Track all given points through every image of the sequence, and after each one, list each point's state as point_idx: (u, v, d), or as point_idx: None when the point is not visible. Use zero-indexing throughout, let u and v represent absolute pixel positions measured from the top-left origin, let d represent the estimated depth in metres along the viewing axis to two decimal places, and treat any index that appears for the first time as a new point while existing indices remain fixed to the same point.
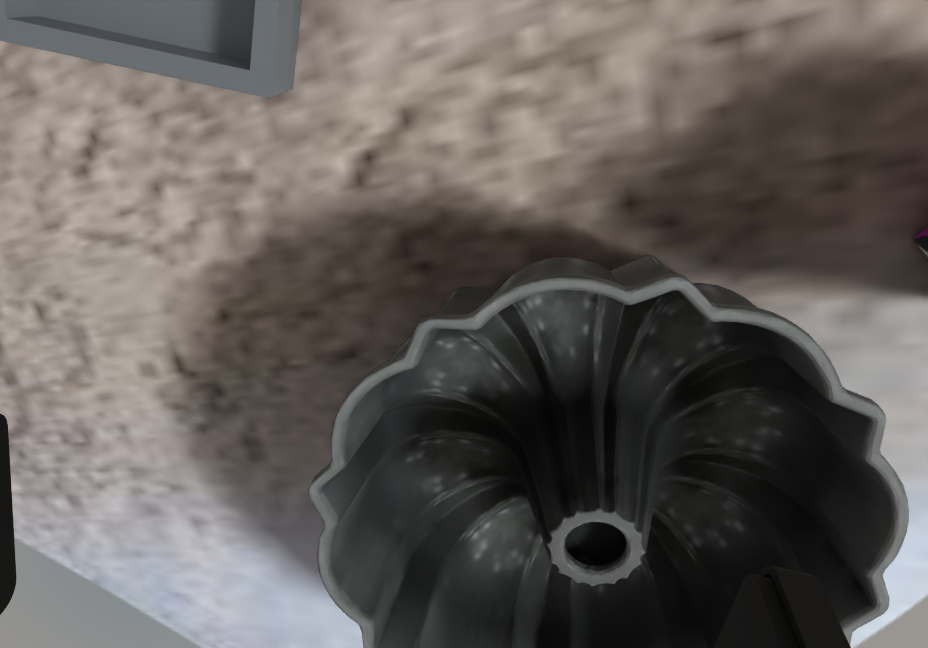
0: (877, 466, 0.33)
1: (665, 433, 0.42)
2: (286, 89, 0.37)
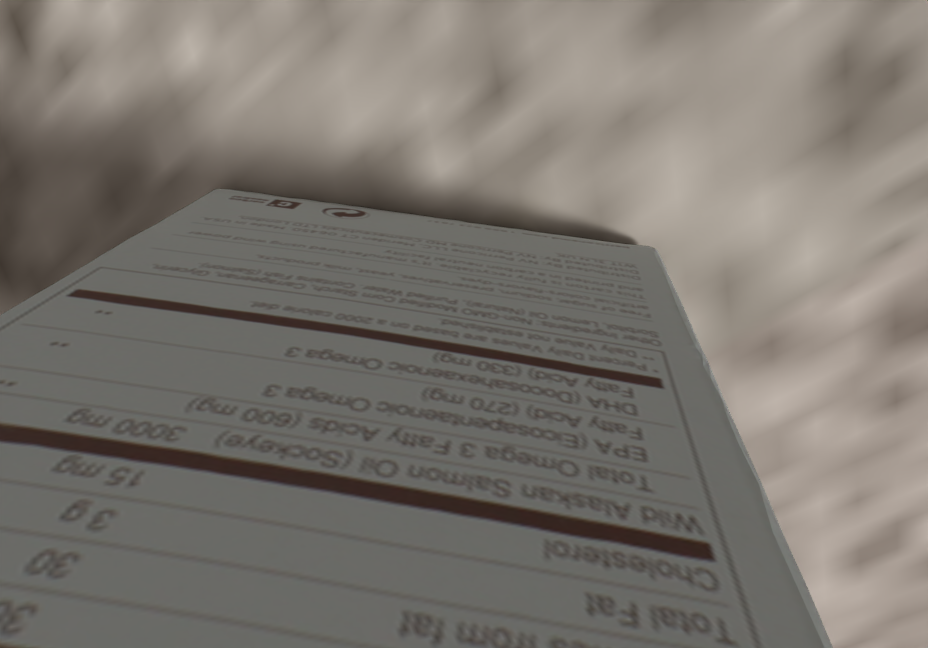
0: None
1: None
2: None
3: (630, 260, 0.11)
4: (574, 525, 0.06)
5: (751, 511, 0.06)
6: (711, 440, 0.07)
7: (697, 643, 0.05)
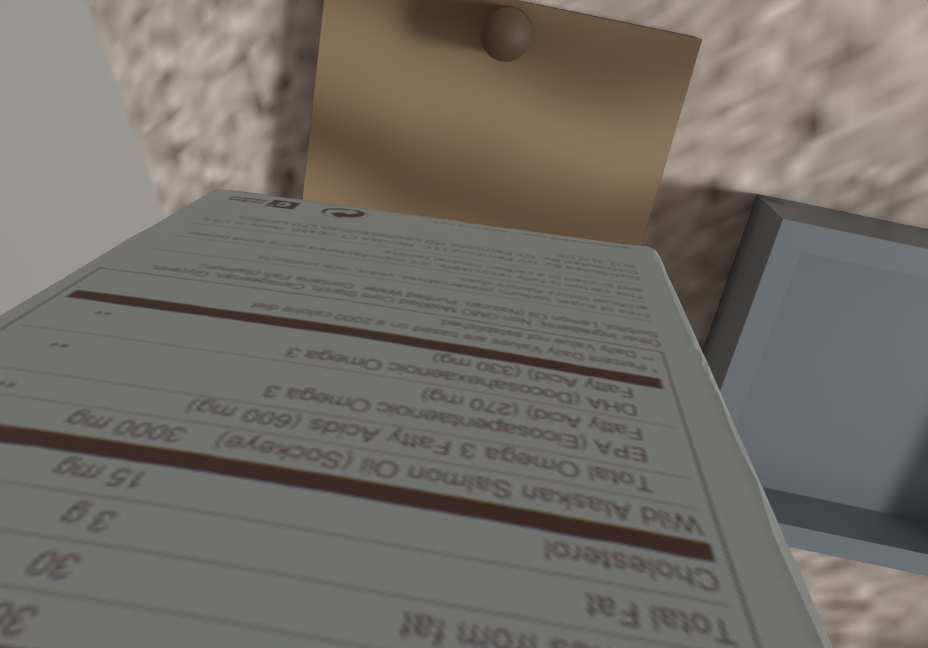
0: None
1: None
2: None
3: (630, 260, 0.11)
4: (573, 525, 0.06)
5: (750, 511, 0.06)
6: (710, 440, 0.07)
7: (696, 643, 0.05)
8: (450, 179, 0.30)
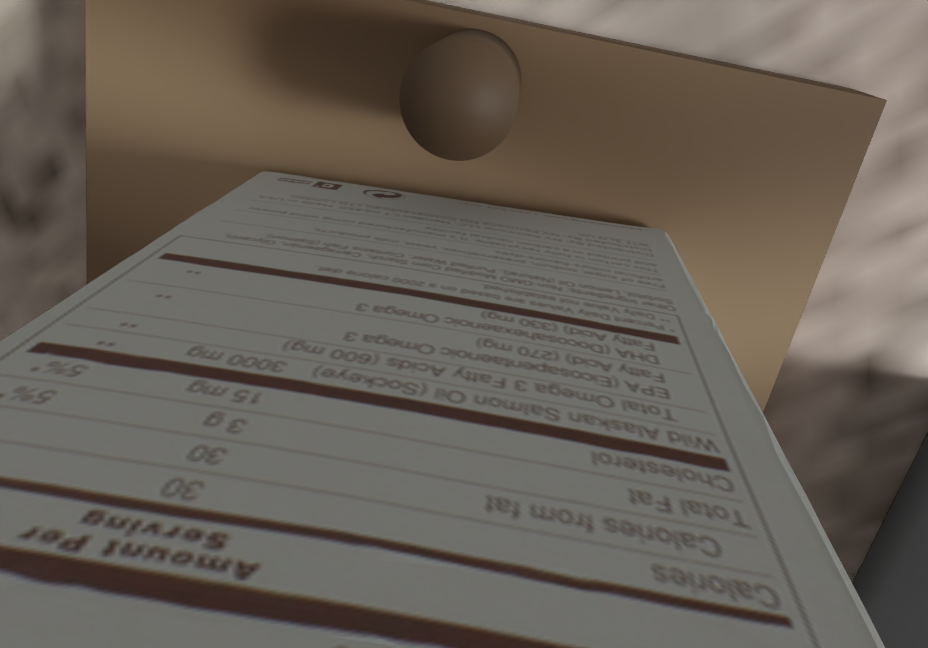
0: None
1: None
2: None
3: (643, 239, 0.12)
4: (613, 441, 0.07)
5: (758, 437, 0.07)
6: (722, 384, 0.08)
7: (717, 524, 0.06)
8: None
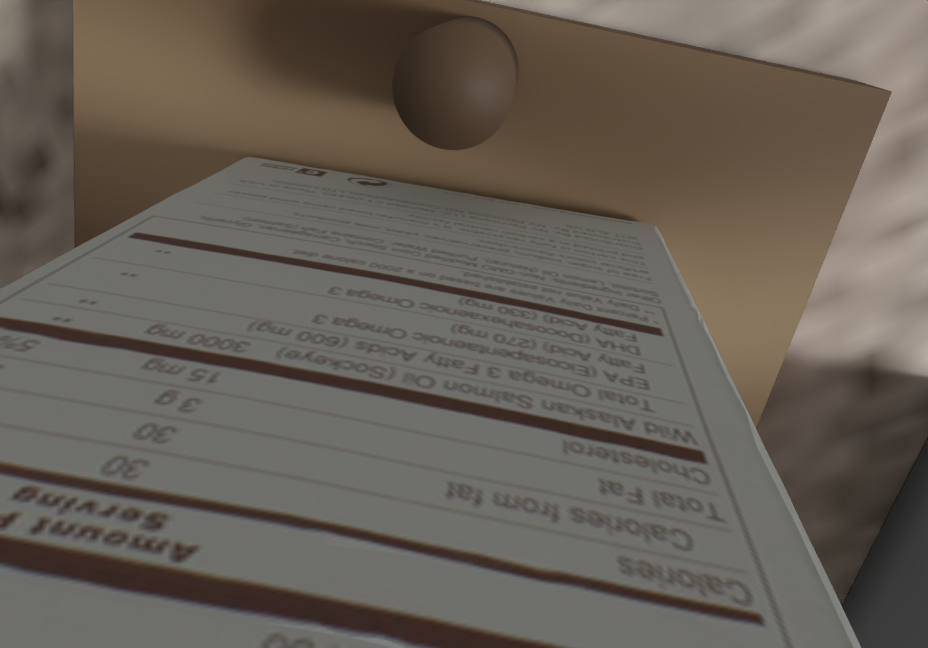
0: None
1: None
2: None
3: (632, 233, 0.12)
4: (586, 432, 0.06)
5: (739, 430, 0.07)
6: (705, 377, 0.08)
7: (691, 518, 0.06)
8: None
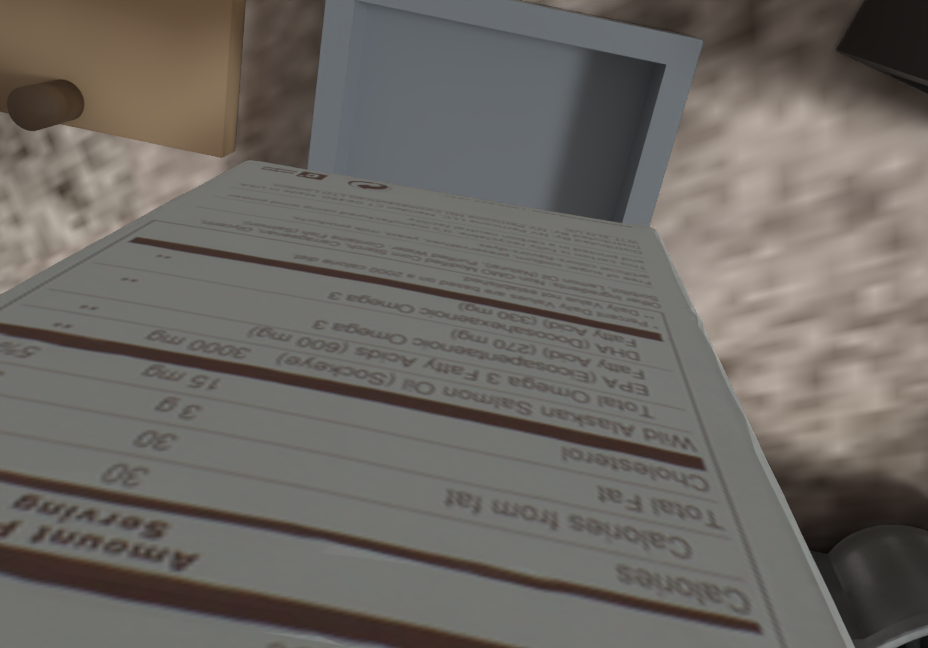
0: None
1: None
2: None
3: (632, 237, 0.12)
4: (586, 439, 0.06)
5: (738, 437, 0.07)
6: (704, 383, 0.08)
7: (689, 526, 0.06)
8: None
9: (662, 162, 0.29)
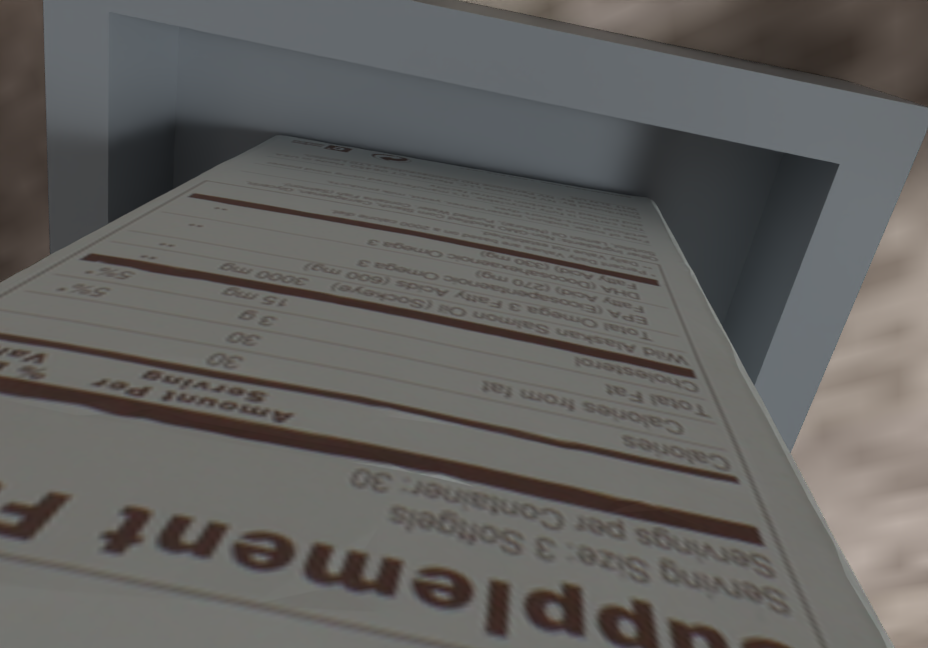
0: None
1: None
2: None
3: (632, 205, 0.13)
4: (595, 351, 0.08)
5: (723, 356, 0.08)
6: (695, 317, 0.09)
7: (681, 413, 0.07)
8: None
9: (813, 371, 0.13)
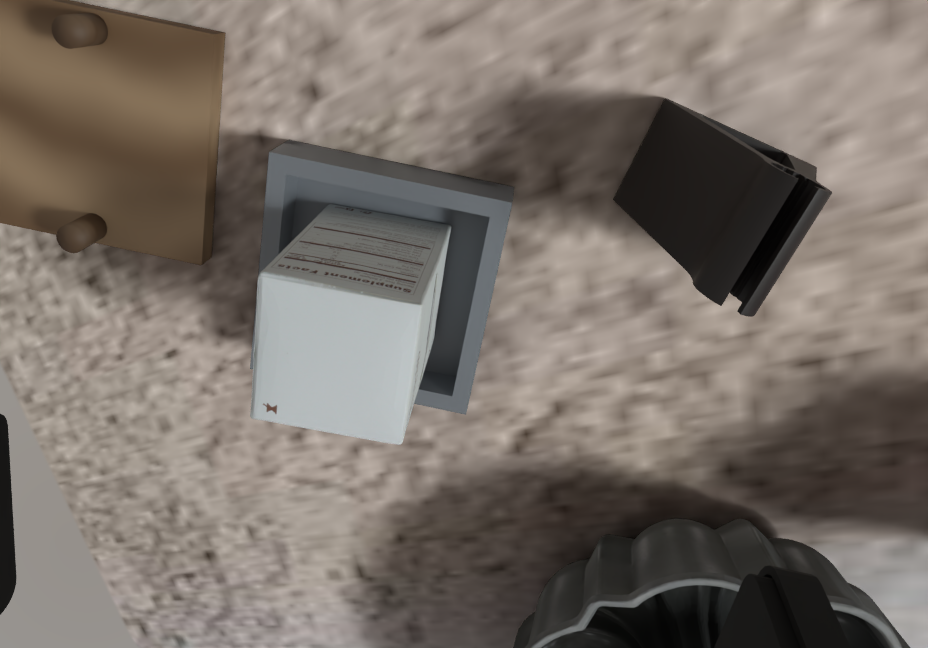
0: None
1: None
2: None
3: (440, 227, 0.44)
4: (403, 260, 0.38)
5: (433, 262, 0.38)
6: (433, 256, 0.39)
7: (414, 269, 0.37)
8: (75, 128, 0.44)
9: (492, 277, 0.43)
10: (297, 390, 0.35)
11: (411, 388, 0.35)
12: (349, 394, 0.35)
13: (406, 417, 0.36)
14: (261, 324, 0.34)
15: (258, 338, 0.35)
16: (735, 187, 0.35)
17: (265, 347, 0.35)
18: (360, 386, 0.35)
